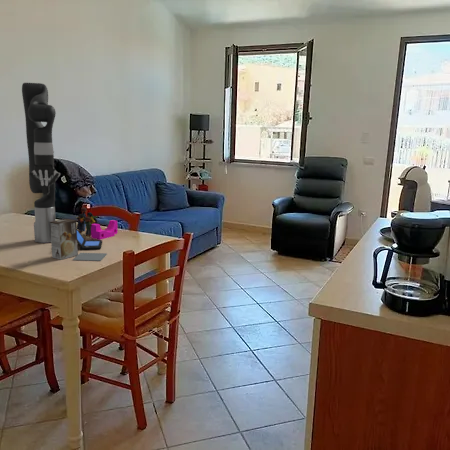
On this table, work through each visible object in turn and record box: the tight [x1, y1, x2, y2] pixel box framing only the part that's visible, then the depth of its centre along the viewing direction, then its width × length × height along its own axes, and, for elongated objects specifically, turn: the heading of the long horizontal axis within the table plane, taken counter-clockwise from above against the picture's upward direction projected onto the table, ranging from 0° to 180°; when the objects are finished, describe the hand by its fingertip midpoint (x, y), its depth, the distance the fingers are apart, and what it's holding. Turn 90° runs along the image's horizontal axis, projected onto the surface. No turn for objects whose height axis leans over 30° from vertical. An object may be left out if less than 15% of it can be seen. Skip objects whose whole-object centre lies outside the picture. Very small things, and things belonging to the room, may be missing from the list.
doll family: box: [75, 207, 99, 239], centre depth 235 cm, size 23×9×13 cm, turn 46°
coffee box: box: [50, 218, 79, 260], centre depth 192 cm, size 9×6×16 cm
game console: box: [77, 229, 103, 251], centre depth 211 cm, size 16×14×9 cm
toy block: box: [90, 219, 119, 240], centre depth 231 cm, size 15×6×8 cm, turn 148°
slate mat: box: [72, 252, 108, 262], centre depth 194 cm, size 12×11×1 cm
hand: (46, 194), depth 188 cm, fingers closed
